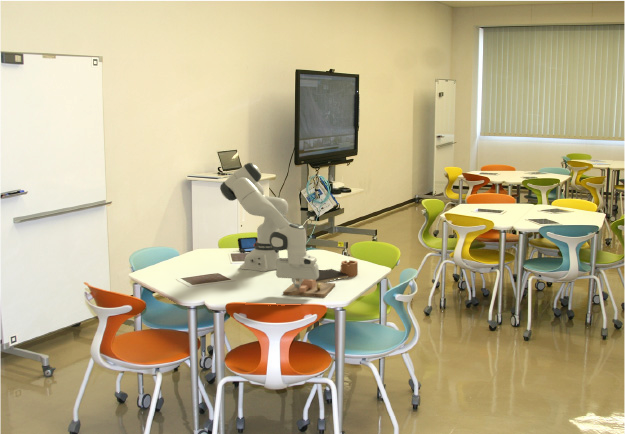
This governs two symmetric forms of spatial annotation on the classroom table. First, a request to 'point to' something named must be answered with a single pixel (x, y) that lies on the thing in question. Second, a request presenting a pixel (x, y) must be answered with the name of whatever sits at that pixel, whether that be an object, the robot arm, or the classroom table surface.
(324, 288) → the board
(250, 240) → the small monitor
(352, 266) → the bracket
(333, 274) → the hardcover book
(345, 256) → the classroom table surface
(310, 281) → the orange square-holed tool
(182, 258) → the classroom table surface
